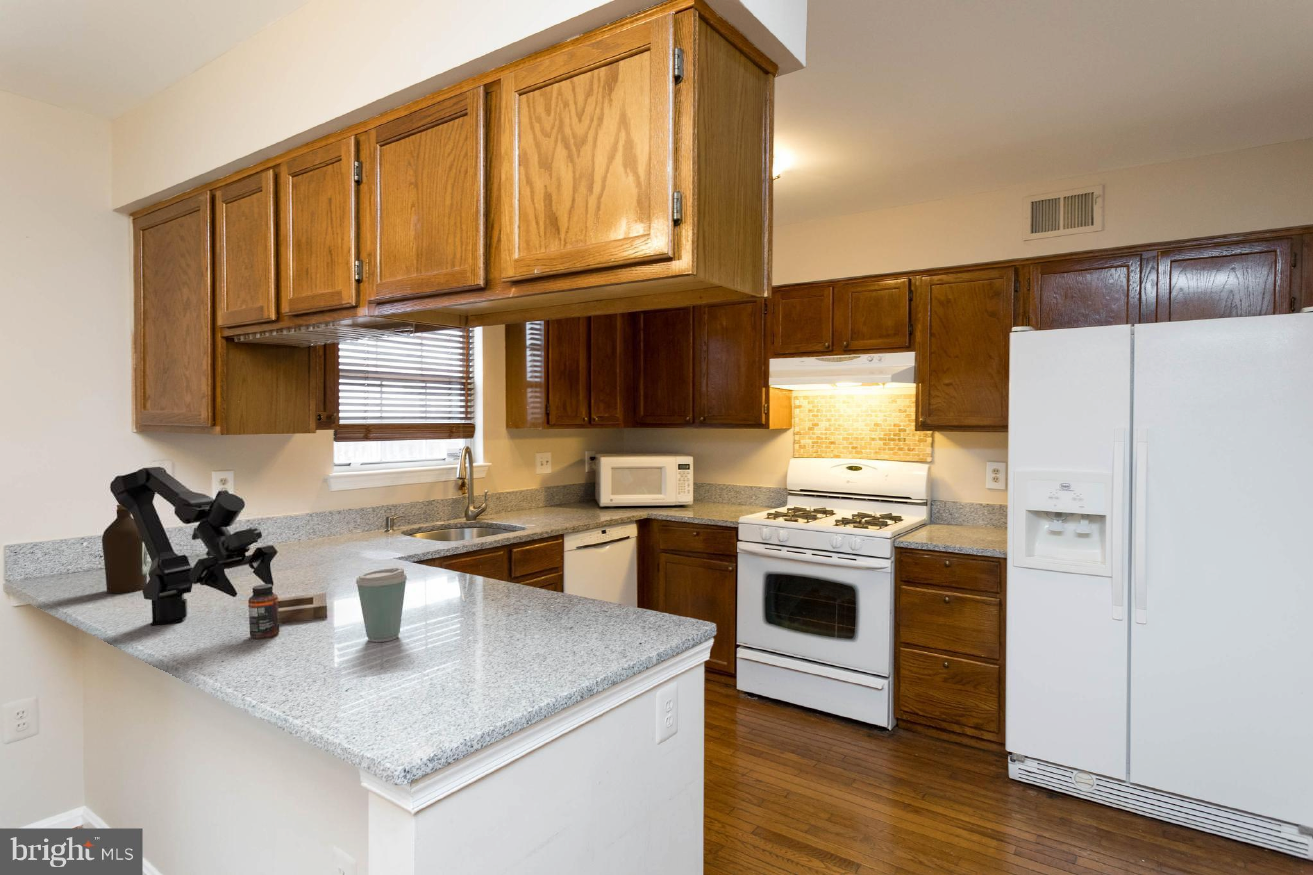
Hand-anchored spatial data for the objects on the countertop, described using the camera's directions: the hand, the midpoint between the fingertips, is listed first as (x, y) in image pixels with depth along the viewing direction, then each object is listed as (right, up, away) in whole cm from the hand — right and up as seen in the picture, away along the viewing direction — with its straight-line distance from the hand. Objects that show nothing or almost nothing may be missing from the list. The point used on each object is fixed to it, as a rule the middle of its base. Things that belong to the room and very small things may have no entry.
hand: (254, 590), depth 164 cm
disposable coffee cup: (+31, -10, -4) cm, 33 cm away
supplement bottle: (+3, -10, -1) cm, 11 cm away
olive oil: (-62, -10, +46) cm, 78 cm away
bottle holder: (+1, -9, +16) cm, 19 cm away
